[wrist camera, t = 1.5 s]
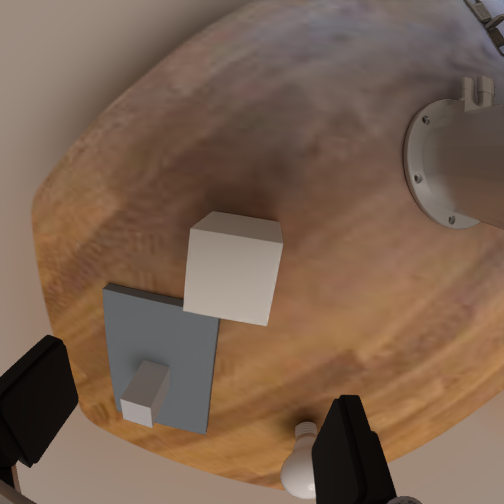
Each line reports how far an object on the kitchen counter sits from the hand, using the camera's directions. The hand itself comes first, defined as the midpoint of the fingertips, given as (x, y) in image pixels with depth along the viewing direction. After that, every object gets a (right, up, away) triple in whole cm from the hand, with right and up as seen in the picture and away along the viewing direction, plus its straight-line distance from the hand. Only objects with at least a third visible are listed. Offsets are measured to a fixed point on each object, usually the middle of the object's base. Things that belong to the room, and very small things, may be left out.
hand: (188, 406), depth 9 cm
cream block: (+1, +5, +18) cm, 19 cm away
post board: (-8, -8, +22) cm, 25 cm away
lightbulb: (+9, -16, +24) cm, 30 cm away
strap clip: (+30, +32, +9) cm, 45 cm away
